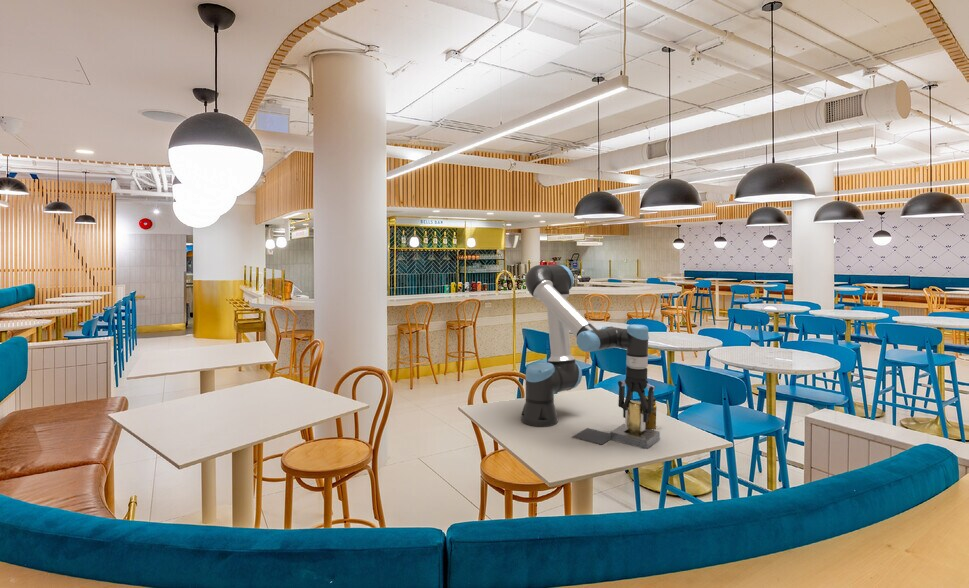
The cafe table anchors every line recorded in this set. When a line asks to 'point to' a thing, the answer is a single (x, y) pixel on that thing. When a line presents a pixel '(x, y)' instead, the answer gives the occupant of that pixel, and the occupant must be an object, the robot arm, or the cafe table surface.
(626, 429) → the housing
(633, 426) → the gold rounded cylinder
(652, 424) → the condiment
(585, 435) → the mat
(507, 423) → the cafe table surface
